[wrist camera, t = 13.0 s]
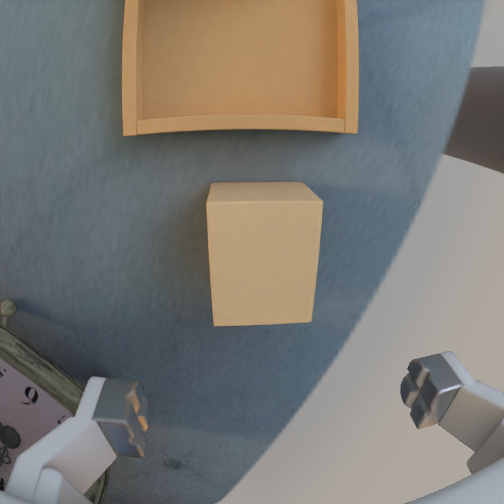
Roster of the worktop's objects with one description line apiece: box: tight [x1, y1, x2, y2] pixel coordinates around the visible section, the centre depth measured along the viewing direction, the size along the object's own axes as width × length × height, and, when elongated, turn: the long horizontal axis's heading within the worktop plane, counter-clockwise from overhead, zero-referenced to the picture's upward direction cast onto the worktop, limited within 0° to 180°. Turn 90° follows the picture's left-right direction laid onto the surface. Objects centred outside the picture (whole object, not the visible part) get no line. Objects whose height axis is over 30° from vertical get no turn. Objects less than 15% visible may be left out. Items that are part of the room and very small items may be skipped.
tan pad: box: [206, 182, 323, 326], centre depth 18 cm, size 6×7×4 cm
